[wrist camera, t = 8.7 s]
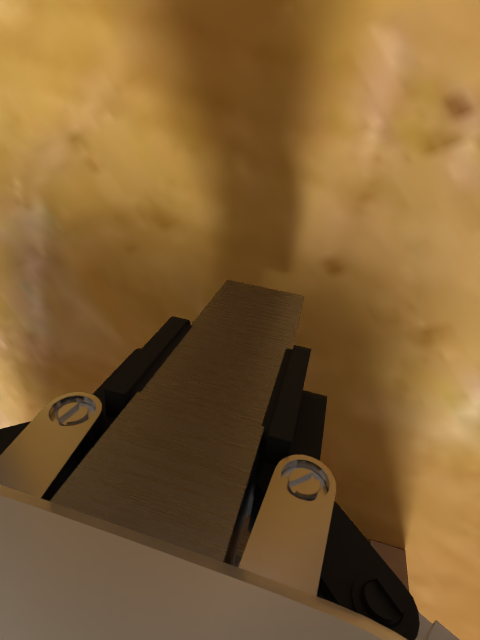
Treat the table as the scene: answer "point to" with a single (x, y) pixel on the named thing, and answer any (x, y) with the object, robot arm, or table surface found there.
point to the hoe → (194, 430)
